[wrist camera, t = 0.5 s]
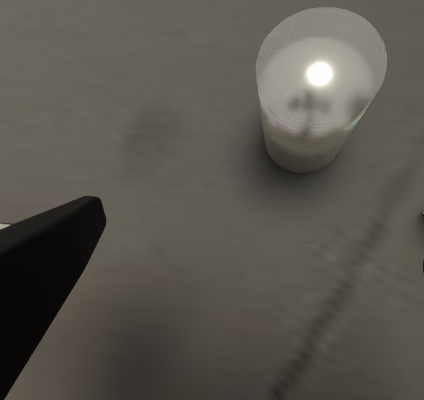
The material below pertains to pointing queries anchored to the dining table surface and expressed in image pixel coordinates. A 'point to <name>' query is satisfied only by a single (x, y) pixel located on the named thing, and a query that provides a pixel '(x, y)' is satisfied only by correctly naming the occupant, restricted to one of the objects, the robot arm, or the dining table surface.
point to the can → (316, 84)
